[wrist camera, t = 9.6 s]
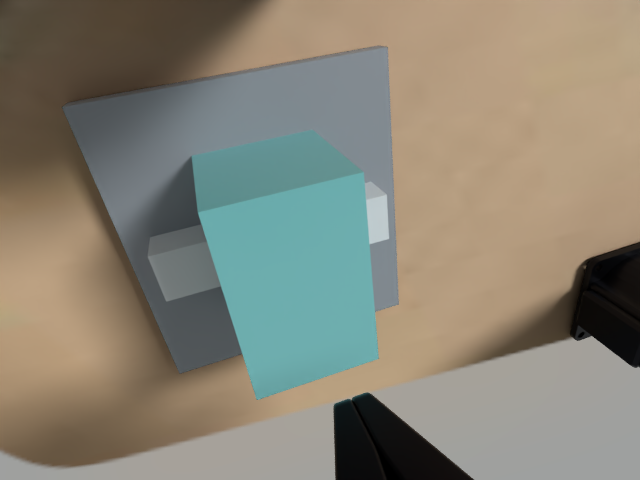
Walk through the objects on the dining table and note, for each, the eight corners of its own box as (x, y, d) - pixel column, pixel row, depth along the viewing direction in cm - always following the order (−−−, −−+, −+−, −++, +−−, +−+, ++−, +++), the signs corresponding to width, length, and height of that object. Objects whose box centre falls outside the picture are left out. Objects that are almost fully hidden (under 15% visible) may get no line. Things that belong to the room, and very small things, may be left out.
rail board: (378, 45, 16) (407, 49, 14) (391, 295, 22) (412, 322, 20) (67, 102, 13) (49, 117, 11) (179, 361, 20) (179, 399, 18)
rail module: (312, 129, 15) (363, 172, 11) (334, 283, 19) (378, 358, 15) (191, 155, 15) (197, 212, 10) (238, 311, 18) (257, 400, 14)
